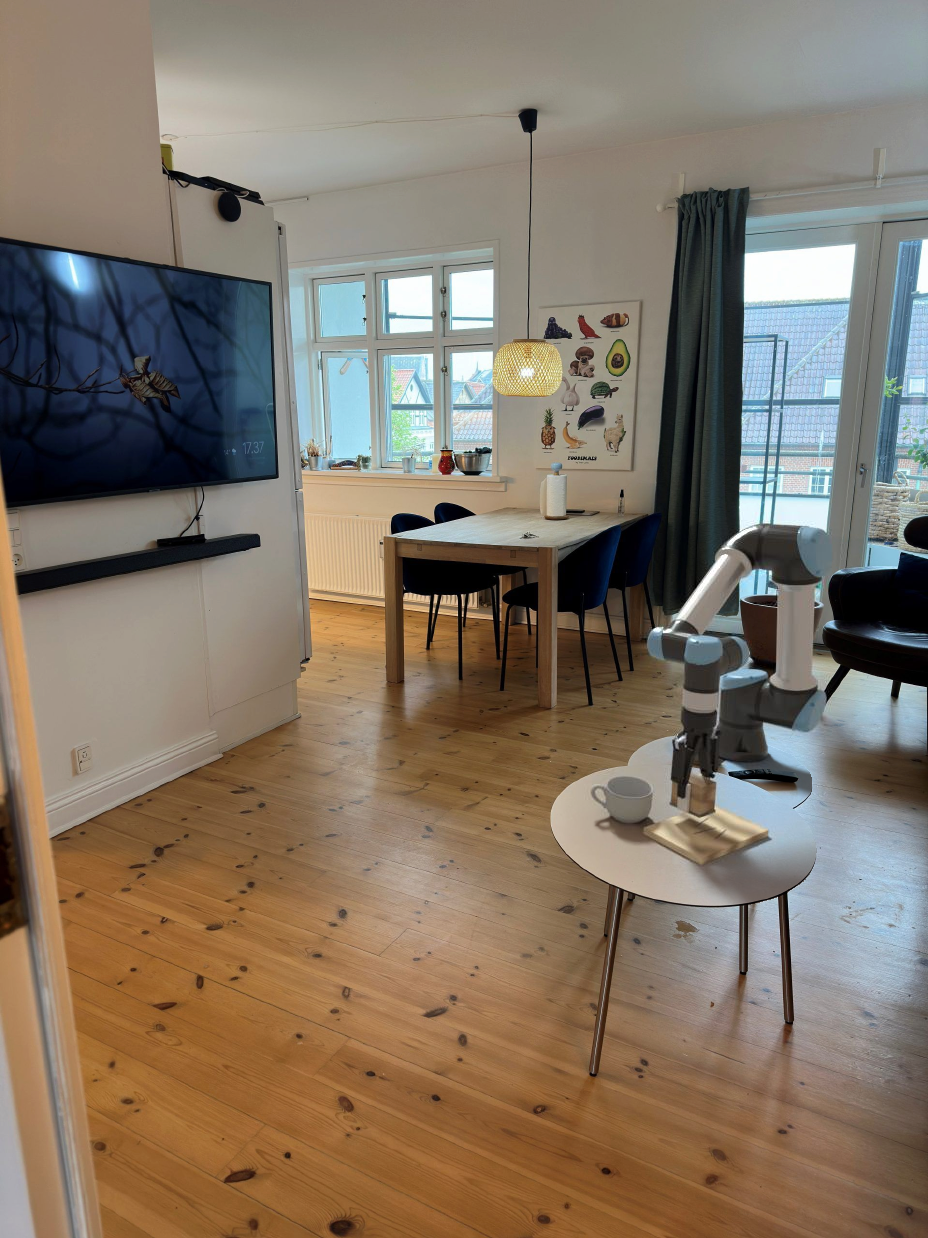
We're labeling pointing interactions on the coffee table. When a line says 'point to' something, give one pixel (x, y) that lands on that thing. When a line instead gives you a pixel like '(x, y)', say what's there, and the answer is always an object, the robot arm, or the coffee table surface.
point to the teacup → (626, 798)
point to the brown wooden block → (698, 795)
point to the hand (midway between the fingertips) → (692, 807)
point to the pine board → (706, 834)
